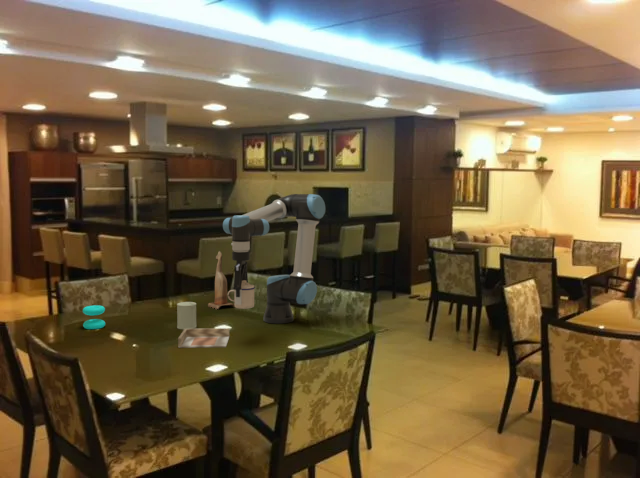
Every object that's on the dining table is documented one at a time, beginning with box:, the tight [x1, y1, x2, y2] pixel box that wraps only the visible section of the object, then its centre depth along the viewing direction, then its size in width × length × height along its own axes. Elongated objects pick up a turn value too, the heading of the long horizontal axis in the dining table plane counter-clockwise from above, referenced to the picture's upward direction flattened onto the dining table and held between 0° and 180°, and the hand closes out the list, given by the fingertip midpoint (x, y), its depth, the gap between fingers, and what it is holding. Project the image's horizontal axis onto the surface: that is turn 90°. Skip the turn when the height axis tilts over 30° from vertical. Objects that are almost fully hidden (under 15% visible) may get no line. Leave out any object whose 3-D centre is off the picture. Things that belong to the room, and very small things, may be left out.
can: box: [176, 301, 197, 330], centre depth 291 cm, size 9×9×12 cm
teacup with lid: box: [227, 280, 256, 310], centre depth 264 cm, size 12×9×12 cm
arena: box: [177, 327, 230, 349], centre depth 264 cm, size 20×17×4 cm
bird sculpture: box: [207, 250, 236, 310], centre depth 338 cm, size 11×12×32 cm
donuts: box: [82, 304, 106, 330], centre depth 289 cm, size 10×10×10 cm
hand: (241, 302), depth 265 cm, fingers closed on teacup with lid, 9 cm apart
